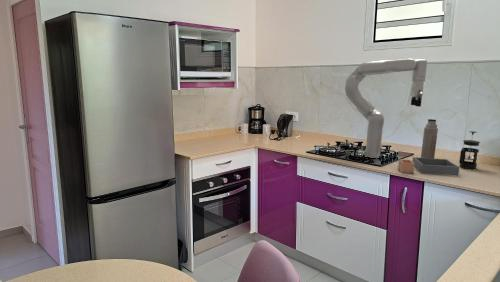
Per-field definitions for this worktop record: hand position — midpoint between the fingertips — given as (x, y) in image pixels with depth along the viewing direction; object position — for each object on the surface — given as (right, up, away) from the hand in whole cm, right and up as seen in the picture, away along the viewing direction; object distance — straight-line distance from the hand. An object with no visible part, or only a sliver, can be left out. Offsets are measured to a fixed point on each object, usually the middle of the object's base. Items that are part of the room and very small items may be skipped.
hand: (415, 105), depth 231 cm
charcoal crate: (+3, -40, -18) cm, 44 cm away
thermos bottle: (+10, -37, +5) cm, 38 cm away
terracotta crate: (-16, -41, -22) cm, 49 cm away
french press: (+28, -40, -10) cm, 50 cm away
